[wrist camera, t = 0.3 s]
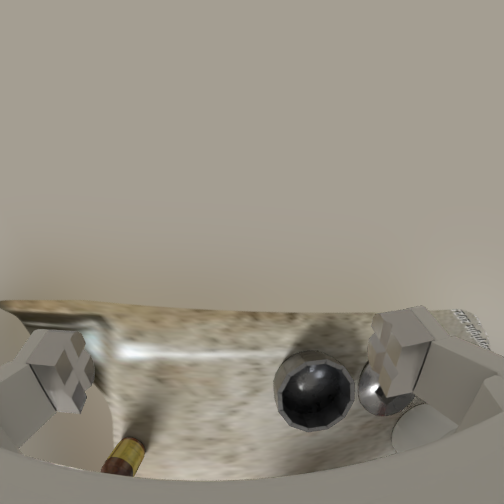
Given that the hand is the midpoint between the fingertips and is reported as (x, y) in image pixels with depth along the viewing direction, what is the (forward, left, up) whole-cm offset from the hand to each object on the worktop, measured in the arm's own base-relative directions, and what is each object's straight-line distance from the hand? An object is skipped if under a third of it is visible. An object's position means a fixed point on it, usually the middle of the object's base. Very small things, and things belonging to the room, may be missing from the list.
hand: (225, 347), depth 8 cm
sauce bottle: (-17, +40, -54) cm, 69 cm away
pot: (-24, 0, -53) cm, 58 cm away
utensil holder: (-52, -14, -54) cm, 76 cm away
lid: (-35, -14, -54) cm, 65 cm away
